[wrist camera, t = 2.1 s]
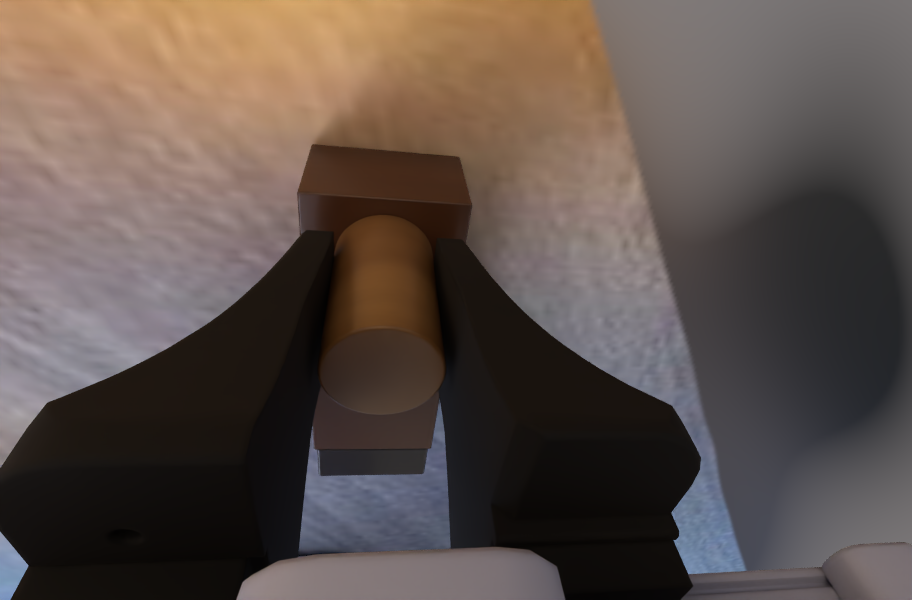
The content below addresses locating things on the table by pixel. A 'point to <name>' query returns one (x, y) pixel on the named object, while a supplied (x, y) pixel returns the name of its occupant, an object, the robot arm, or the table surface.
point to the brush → (380, 302)
